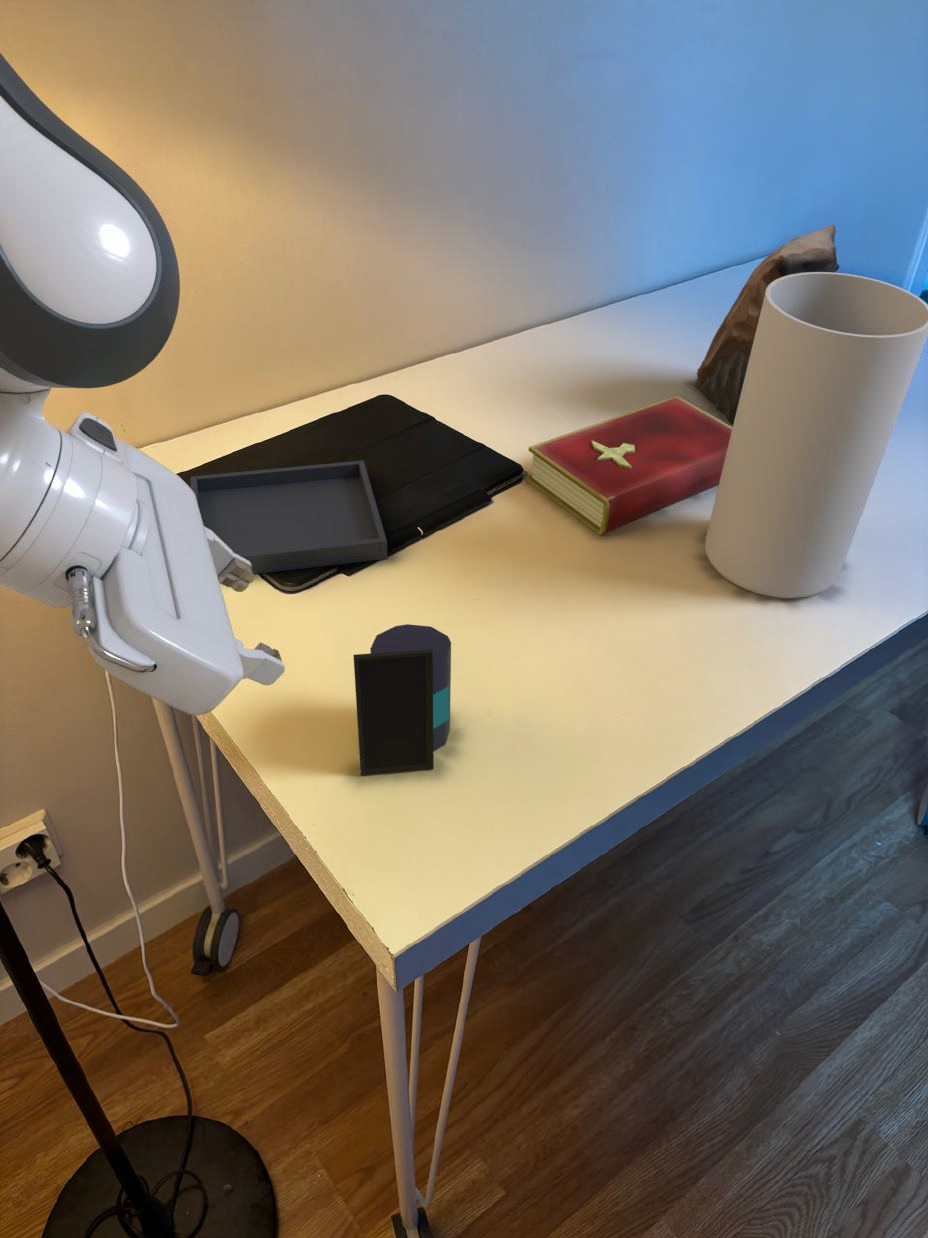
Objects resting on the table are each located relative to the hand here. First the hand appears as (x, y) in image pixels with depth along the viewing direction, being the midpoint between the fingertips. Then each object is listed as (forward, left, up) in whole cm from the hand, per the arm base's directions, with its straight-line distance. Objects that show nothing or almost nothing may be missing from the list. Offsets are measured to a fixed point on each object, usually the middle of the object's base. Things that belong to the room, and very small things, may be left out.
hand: (261, 622), depth 61 cm
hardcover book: (+40, +31, -13) cm, 52 cm away
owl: (+59, +45, -13) cm, 75 cm away
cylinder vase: (+47, +15, -13) cm, 51 cm away
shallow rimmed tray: (+3, +29, -13) cm, 32 cm away
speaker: (+9, 0, -13) cm, 16 cm away
